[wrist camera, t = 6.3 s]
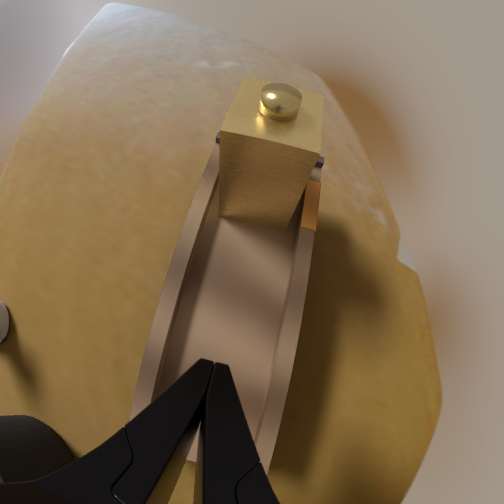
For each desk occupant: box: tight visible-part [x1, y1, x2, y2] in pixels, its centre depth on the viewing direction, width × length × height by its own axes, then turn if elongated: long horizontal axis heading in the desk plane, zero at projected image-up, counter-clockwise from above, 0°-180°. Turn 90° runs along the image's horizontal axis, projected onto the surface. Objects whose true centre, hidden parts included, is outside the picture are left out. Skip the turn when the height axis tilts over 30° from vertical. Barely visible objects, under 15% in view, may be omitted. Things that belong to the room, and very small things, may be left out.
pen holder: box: [0, 415, 74, 483], centre depth 9 cm, size 9×9×10 cm
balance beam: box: [129, 132, 324, 475], centre depth 18 cm, size 22×9×6 cm, turn 168°
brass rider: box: [219, 77, 324, 232], centre depth 16 cm, size 5×5×9 cm
